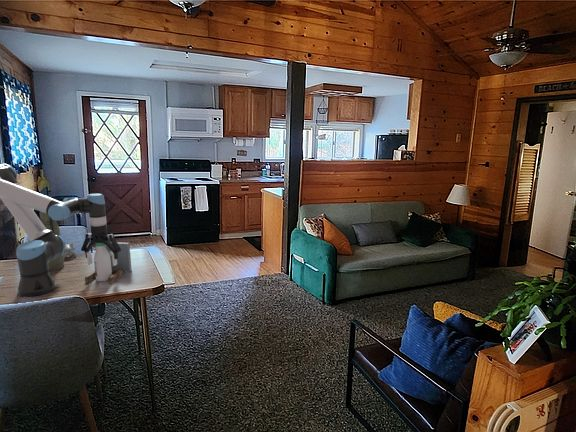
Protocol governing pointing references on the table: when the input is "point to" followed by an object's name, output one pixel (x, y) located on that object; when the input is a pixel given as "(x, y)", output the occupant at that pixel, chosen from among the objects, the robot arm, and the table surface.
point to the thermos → (53, 226)
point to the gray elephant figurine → (69, 250)
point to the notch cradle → (115, 275)
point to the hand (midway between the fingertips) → (102, 264)
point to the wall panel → (122, 257)
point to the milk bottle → (102, 263)
